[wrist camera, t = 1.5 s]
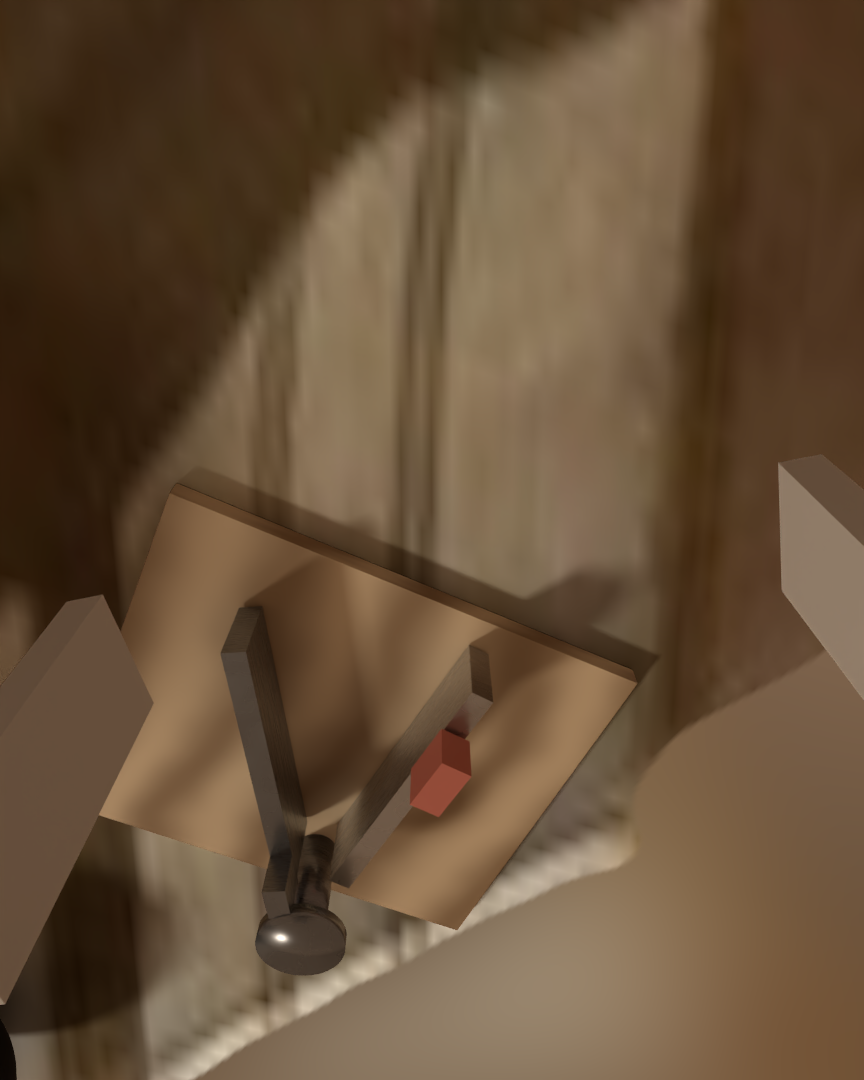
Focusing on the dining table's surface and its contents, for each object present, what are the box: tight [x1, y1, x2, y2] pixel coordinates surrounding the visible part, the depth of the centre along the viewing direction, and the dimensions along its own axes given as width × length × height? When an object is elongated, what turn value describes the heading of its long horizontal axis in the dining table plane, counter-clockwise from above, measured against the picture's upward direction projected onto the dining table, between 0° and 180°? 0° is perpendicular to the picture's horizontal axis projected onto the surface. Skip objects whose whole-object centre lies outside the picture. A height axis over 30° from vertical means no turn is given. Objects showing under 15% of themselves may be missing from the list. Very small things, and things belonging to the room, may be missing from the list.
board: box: [99, 483, 637, 930], centre depth 46 cm, size 26×22×1 cm
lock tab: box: [410, 729, 472, 817], centre depth 39 cm, size 3×2×2 cm, turn 150°
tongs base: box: [294, 645, 493, 910], centre depth 43 cm, size 19×2×5 cm, turn 150°
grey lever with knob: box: [220, 606, 347, 975], centre depth 43 cm, size 20×5×6 cm, turn 5°
